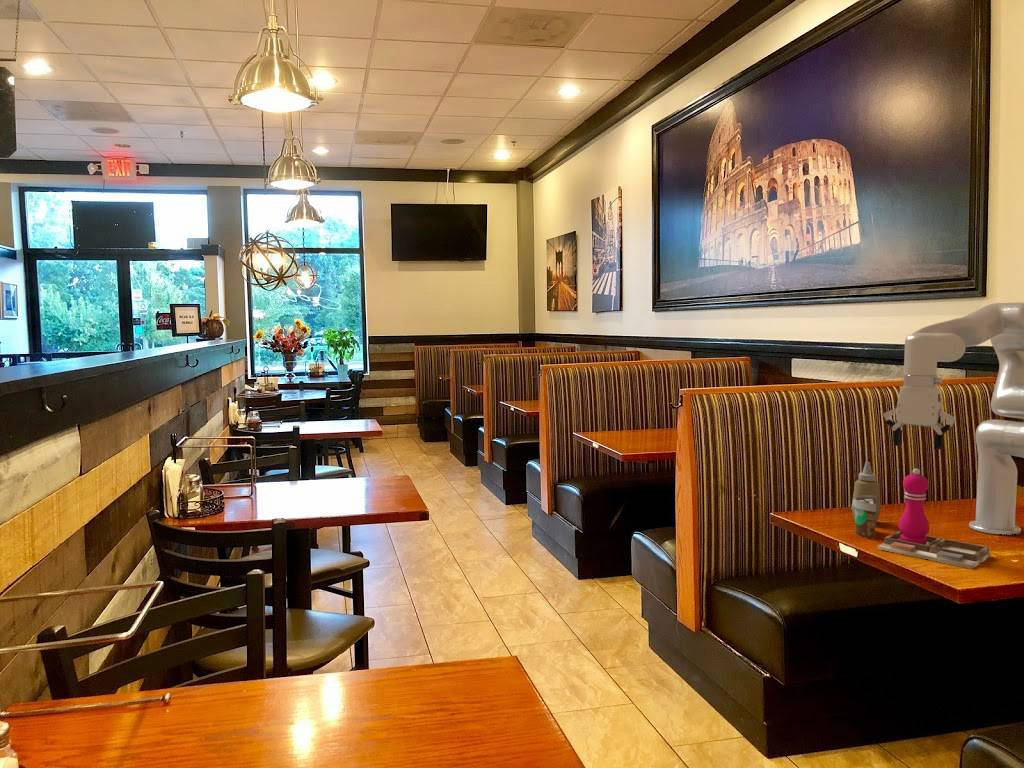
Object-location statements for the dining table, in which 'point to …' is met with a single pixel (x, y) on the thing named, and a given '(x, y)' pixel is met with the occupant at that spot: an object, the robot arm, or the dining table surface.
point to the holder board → (938, 550)
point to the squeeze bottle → (867, 487)
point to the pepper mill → (914, 509)
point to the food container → (865, 515)
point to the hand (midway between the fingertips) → (917, 447)
